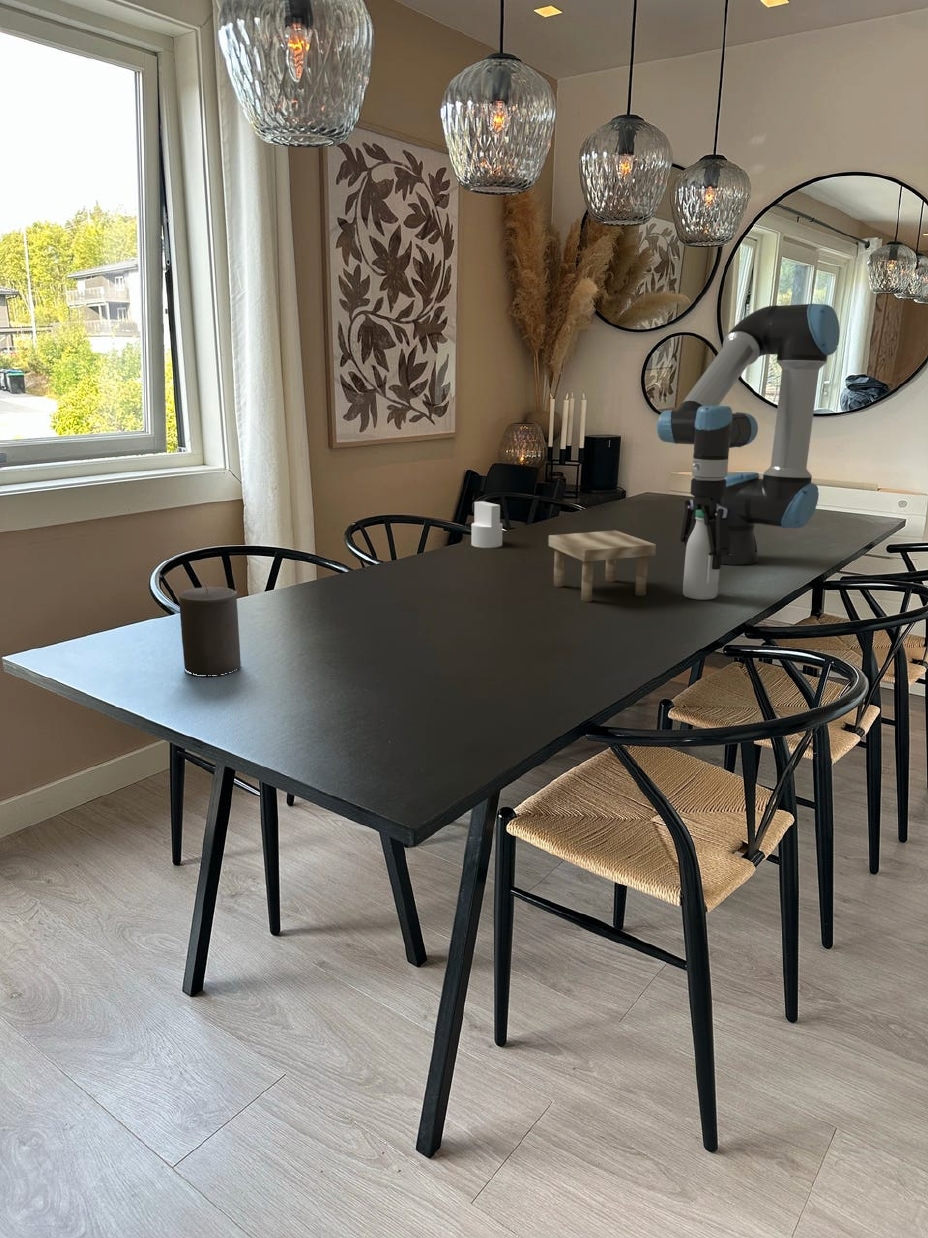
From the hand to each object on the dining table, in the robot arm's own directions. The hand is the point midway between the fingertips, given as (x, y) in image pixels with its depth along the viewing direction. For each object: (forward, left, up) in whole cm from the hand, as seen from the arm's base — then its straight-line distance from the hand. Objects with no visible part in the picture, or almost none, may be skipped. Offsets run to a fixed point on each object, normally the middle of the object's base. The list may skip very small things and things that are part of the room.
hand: (701, 578), depth 202 cm
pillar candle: (+109, +11, -4) cm, 110 cm away
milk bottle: (0, 0, -4) cm, 4 cm away
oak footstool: (+19, -13, -4) cm, 23 cm away
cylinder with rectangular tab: (+24, -71, -4) cm, 75 cm away
